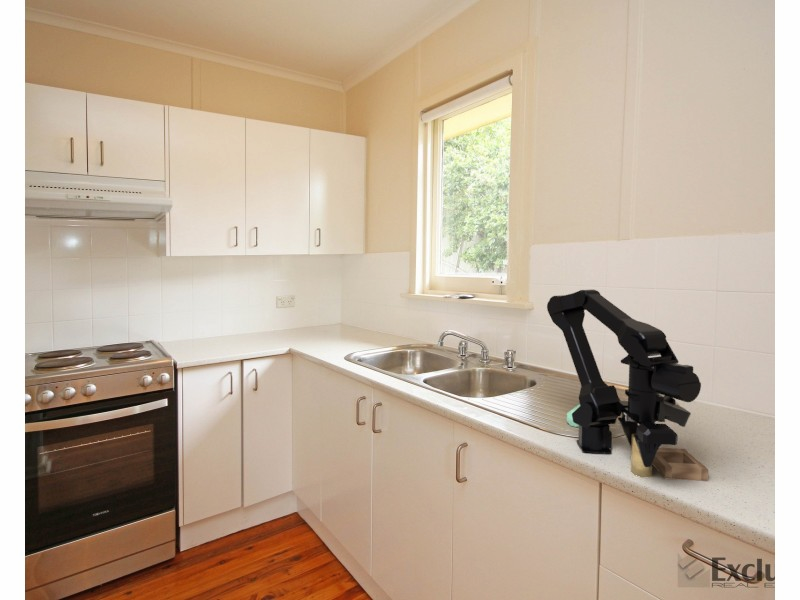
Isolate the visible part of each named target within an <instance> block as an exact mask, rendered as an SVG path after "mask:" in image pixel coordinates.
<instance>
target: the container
mask: <svg viewBox="0 0 800 600" xmlns="http://www.w3.org/2000/svg"><path fill="white" fill-rule="evenodd" d="M579 407H580V403H579V404H578V405H576V406H575V407H574V408H572V409H571V410H569V411H567V413H566V422H567V423H568V424H569V426H571V427H575V428H579V425H578V424H576V423H574V422H573V418H572V413H573V412H574V411H575V410H577V409H578V408H579Z"/></svg>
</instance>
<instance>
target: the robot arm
mask: <svg viewBox="0 0 800 600" xmlns="http://www.w3.org/2000/svg"><path fill="white" fill-rule="evenodd" d="M546 308H547V309H546V310H547V312H548V315H549V317H550V318H551V321H552V322H553V324H554V325H556V327H557V328H559V329H560V330H561V332H562V333H563V336H564V339H565V342H566V344H567V348H568V350H569V354H570V356H571V360H572V363H573V365H574V368H575V372H576V374H577V377H578V379H579V382H580V383H579V384H580V390H579V394H578V401H579V404H580V407H579V408H578V409H577V410H575V411H574V412H573V413H572V418H573V422H574V423H576V424H578V425H579V427H578V439H577V440H576V443H577V445H578V447H579V449H580V451H581V452H582V453H584V452H585V453H587V454H603V453H607V455H609V454H610V455H611V454H612V450H611V449H612V443H613V442H612V441H613V439H612V438H613V431H611V429H610V428H611V427H610V425H615V424H616V422H617V419H618V421H619V423H620V426H621V428H622V430H623V433H624V435H625V437H626V439H627V441H628V445H629V446H630V448H631V442H632V434H634V433H637V435H634V438H635V441H636V444H637V447H638V450H639V453H640V456H641V459H642V462H643V464H644V466H645V467H650V466H651V464H652V462H653V459H654V457H655V455H656V452H657V450H658V448H661V446H662V445H663V446H664V445H666V446H677V445H678V437H679V435H678V434H677V432H675V431H674V430H673V429H672V428H671V427H670V426H668V425H667V424H666V423H665V422H666V420H667V421H669V422H672V423H675V424H678V426H679V427H683V428H685V427H686V425H687V422H688V421H689V418H690V417H691V412H690V411H689V410H687V409H686V408H684V407H682V406H680V405H679V404H676V400H678V401H681V402H685V403H692V402H694V401H695V400H696V399H697V397H698V396H699V395H700V393H701V388H702V383H701V381H700V378H699V375H697V373H695V372H694V366H693V365H689V364H680V363H679V359H678V358H677V356H676V354H675V353H674V351H673V349H672V348H671V346H670V344H669V342H668V340H667V335H666V334H665V333H664V331H662V330H661V329H660V328H658V327H655V326H653V325H651V324H649V323H647V322H643V321H638V320H636V319H634V318H632V317H631V316H630V315H628V314H627V313H625V311H623V310H621V309H620V308H619V307H618V306H616V305H615V304H614V303H612V302H611V301H610V300H608V299H607V298H606V297H604V296H603V295H601V292H599V290H596V289H580V290H578V291H575V292H572V293H569V294H565V295H564V294H563V295H561V294H560V295H553V296H551V297H550V298H549V300H548V302H547V304H546ZM585 311H586V312H588V313H589V315H592V316H593V317H594V318H595V319H597V320H598V321H599V322H600V323H601V324H603V326H606V328H607V329H609V330H610V331H611V332H612V333H613V334H615V336H616V337H617V342H618V344H619V345H620V346H621V348H622V349H623V350H624V351H625V352H626V353H627V355H626V356H625V357H623V358H621V359H620V363H621V364H624V365H627V366H628V388H627V389H626V388H625V390H624V391H625V392H624V394H625V396H627V400H621V399H620V397H619V395H618V391H617V388H616V387H615V385H614V384H613V385H608V384H607V383H606V382H605V381H604V380H603V379H602V375H601V372H600V369H599V368H598V364H597V361H596V359H595V356H594V354H593V350H592V348H591V345H590V342H589V340H588V338H587V334H586V332H585V328H584V326H583V325H584V320H585ZM656 422H658V423H656ZM585 453H584V454H585ZM652 465H653V464H652Z"/></svg>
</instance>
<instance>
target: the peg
mask: <svg viewBox="0 0 800 600" xmlns="http://www.w3.org/2000/svg"><path fill="white" fill-rule="evenodd" d="M634 435H637V433H634V434H632V442H631V447H630V473H631V472H632V473H633V474H634V476H636V475H637V476H636V477H638V476H640V477H639V478H643V477H648V478H651V477H653V464H651V466H650V467H645V466H644V464H643V462H642V459H641V456H640V453H639V450H638V447H637V444H636V441H635V438H634ZM632 473H631V474H632ZM633 474H632V475H633ZM650 476H651V477H650Z"/></svg>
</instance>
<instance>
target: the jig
mask: <svg viewBox="0 0 800 600" xmlns="http://www.w3.org/2000/svg"><path fill="white" fill-rule="evenodd" d="M652 466H653V467H654V468H656V470H657V471H658V472H659V474H661V476H662V477H663V478H665V479H667V480H681V481H682V480H684V481H685V480H687V481H703V482H704V481H706V482H708V479H709V478H708V475H709V469H708V467H706V466H705V465H704V464H703V463H702V462H700V461H699V460H698V459H697V458H696V457H695V456H694V455H692V453H690V452H689V451H688V450H687V449H685V448H673V447H659V448H658V450H657V452H656V455H655V457H654V459H653V462H652Z"/></svg>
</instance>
